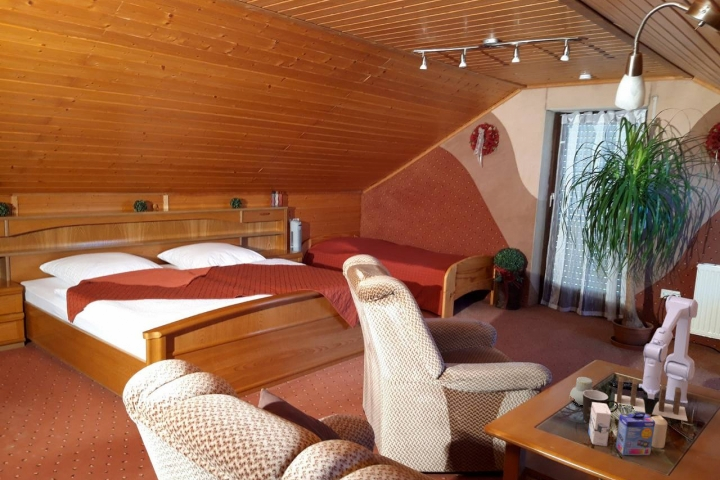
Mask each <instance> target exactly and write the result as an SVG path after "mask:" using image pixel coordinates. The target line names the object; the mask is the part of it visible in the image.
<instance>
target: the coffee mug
mask: <svg viewBox="0 0 720 480" xmlns="http://www.w3.org/2000/svg"><path fill="white" fill-rule="evenodd" d="M592 402H596V403H604V404H607V406H608V405H609V404H610V403H616V405H617V407H615V408H614V409H613V410H610V412H611V414H613V413H614V412H615V411H617V410H618V408H619V407H618V403H617V402H616V401H615V400H609V396H608V394H606V393H605V392H603V391H600V390H595V389H592V390H585V391H583V406H582V408H583V409H582V410H583V411H582V412H583V415H582V416H583V421H584V420H585V422H586V423H588V424H589V423H590V415H591V407H592Z"/></svg>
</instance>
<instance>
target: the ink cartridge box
mask: <svg viewBox="0 0 720 480" xmlns="http://www.w3.org/2000/svg"><path fill="white" fill-rule="evenodd" d="M654 426H655V421H654V420H653V419H652V418H651V416H650V417H649V416H648V415H647V414H646V413H644V412H634V413H633V414H632V413H622V414H619V417H618V425H617V434H616V441H615V442H616V443H615V448H616V449H617V450H618V451H619V452H620V454H621V455H623V456H650V455H651V451H652V439H653V433H654Z"/></svg>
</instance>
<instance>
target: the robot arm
mask: <svg viewBox="0 0 720 480" xmlns="http://www.w3.org/2000/svg"><path fill="white" fill-rule="evenodd" d="M698 308H699V302H698V301H697V300H696V299H690V298H686V297H681V296H676V295H673V294H670V295H669V296H667V298H666V301H665V311H666V314H665V318H664V320H663V322H662V325H661V327H658V328H657V329H656V331H655V332H654V334H653V336H652V338H651V340H650V341H649V343H646V344H645V345H644V348H643V362H644V370H643V377H642V383H639V384H638V387H639V388H641V389H642V394H641V396H642V397H641V399H643V400H644V404H645V413H646V414H649V415H650V416H651V415H653V414H652V413H653V410H654V407H655V405H656V404H657V403H658V402H659V397H655V396H656V394H658V393H660V389H661V379H662V370H664V373H665V374H666V376H667V382H666V397H665V401H666V400H667V401H673V402H674V395H675V388H676V387H679V388H680V389H681V399H680V403H682V404H683V403H684V404H688V398H687V393H688V385H689V381H691V380H692V379H693V377H694V376H695V371H696V367H695V361H694V360H693V358H691V356H689V355H688V352H689V344H690V333H691V326H692V325H691V324H692V321H693V320H692V319H693V318H695V319H696V318H697V315H698V311H699V310H698ZM675 327H676V329H675ZM674 329H675V336H674V335H673V334H674V333H673V331H674ZM673 338H675V339H674V347H673V352H672V353H670V354H669V355H667V354H668V350H669V348H668V347H669V345H670V343H671V341H672V339H673ZM664 361H665V363H663V362H664ZM663 364H664V366H663ZM647 393H648V395H647Z"/></svg>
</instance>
